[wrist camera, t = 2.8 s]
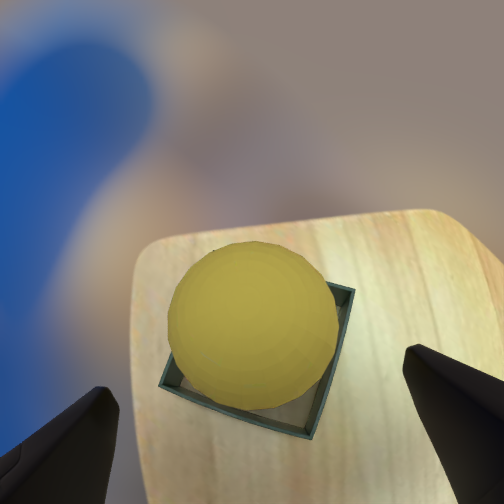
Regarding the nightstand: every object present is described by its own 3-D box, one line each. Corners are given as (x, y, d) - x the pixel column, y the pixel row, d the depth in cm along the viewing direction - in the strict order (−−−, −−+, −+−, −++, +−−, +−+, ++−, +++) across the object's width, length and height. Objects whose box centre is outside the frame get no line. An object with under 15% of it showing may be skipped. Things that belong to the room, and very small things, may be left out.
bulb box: (306, 432, 15) (312, 440, 12) (175, 387, 17) (157, 386, 14) (344, 304, 18) (355, 289, 16) (222, 270, 20) (213, 249, 17)
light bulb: (202, 397, 16) (123, 398, 7) (213, 294, 19) (160, 206, 10) (314, 404, 16) (357, 420, 7) (317, 299, 19) (350, 209, 10)
